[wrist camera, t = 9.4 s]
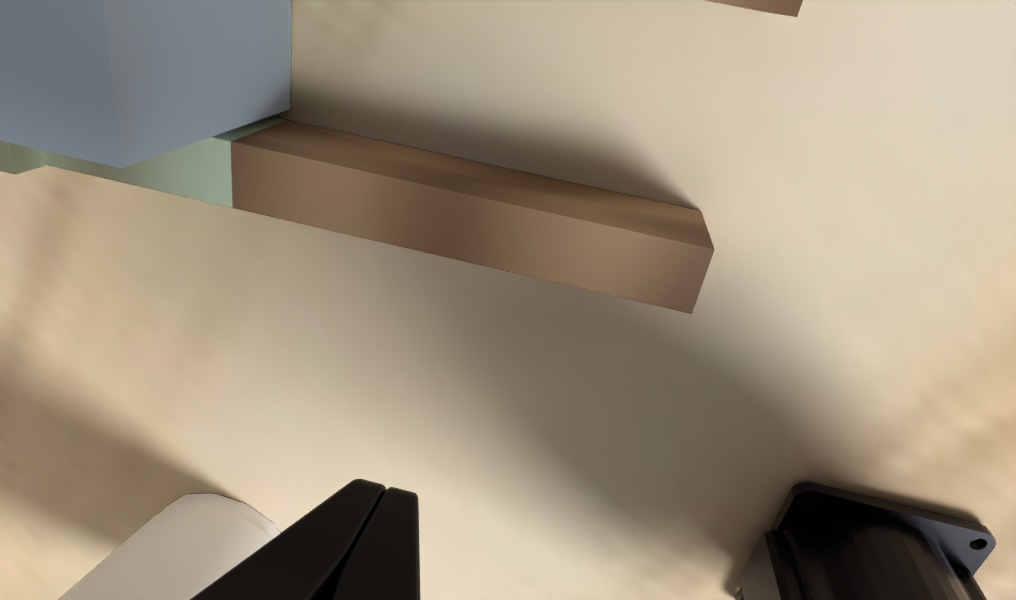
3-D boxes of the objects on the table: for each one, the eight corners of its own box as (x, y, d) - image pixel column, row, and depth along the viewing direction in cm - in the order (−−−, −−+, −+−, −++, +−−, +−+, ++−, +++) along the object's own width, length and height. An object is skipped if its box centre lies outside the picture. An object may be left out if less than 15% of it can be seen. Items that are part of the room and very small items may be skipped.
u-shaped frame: (795, -72, 15) (849, -92, 11) (682, 267, 19) (695, 332, 15) (27, -215, 16) (-144, -273, 12) (77, 131, 20) (-41, 161, 16)
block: (292, -66, 16) (91, -99, 10) (290, 109, 18) (121, 168, 12) (114, -101, 17) (-184, -154, 11) (132, 74, 19) (-110, 114, 13)
